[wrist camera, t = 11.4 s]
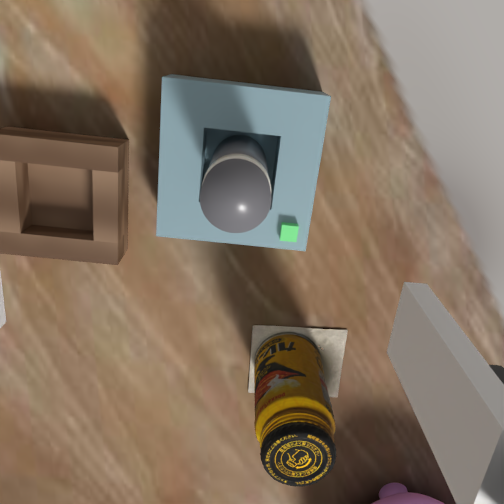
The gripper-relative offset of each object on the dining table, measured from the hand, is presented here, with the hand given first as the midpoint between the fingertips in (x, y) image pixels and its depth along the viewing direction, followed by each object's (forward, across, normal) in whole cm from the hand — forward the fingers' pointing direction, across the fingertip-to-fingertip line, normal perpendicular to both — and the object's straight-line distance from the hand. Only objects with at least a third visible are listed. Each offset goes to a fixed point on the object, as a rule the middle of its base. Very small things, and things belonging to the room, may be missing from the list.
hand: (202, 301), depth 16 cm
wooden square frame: (+23, -12, -4) cm, 26 cm away
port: (+23, +1, 0) cm, 23 cm away
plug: (+22, +1, 0) cm, 22 cm away
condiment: (+23, +8, -18) cm, 30 cm away
